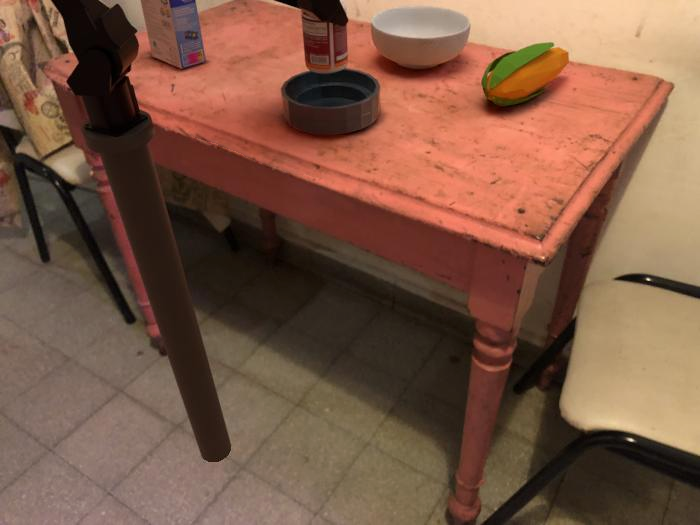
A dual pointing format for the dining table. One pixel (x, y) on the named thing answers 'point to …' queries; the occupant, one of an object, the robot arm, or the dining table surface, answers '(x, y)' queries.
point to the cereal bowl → (420, 35)
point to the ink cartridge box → (174, 31)
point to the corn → (523, 73)
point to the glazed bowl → (331, 101)
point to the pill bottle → (324, 45)
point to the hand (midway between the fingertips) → (332, 17)
